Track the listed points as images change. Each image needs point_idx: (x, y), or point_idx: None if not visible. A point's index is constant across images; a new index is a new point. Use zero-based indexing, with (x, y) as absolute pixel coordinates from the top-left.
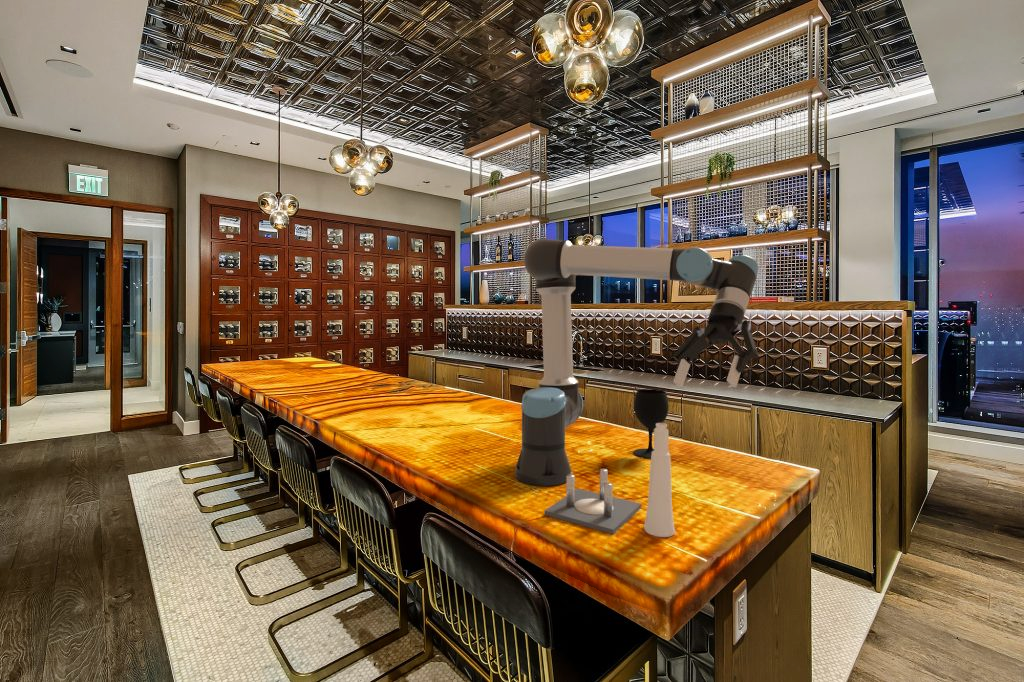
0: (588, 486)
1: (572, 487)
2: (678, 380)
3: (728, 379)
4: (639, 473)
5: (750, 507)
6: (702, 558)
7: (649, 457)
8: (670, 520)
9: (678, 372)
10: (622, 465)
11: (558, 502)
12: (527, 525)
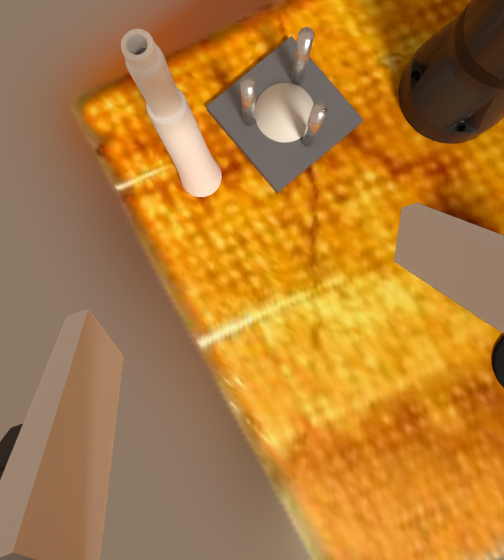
0: (382, 153)
1: (295, 53)
2: (413, 229)
3: (76, 317)
4: None
5: (234, 360)
6: (122, 186)
7: (501, 343)
8: (179, 175)
9: (462, 230)
10: None
11: (314, 67)
12: (264, 9)
